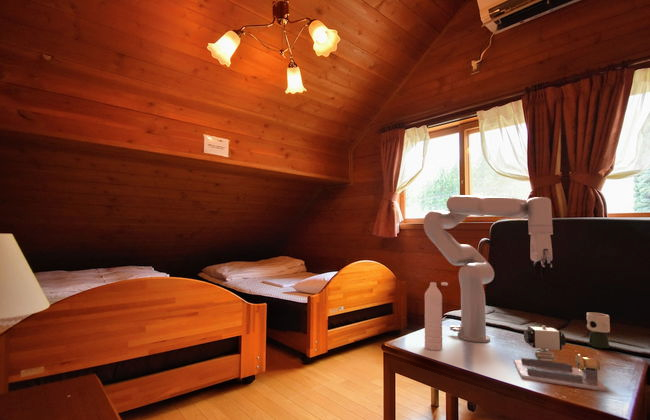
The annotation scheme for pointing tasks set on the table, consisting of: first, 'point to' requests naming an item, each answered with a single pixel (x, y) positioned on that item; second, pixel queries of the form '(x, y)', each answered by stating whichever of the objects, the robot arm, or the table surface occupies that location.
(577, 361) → the manifold plate
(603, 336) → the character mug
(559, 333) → the pneumatic valve
